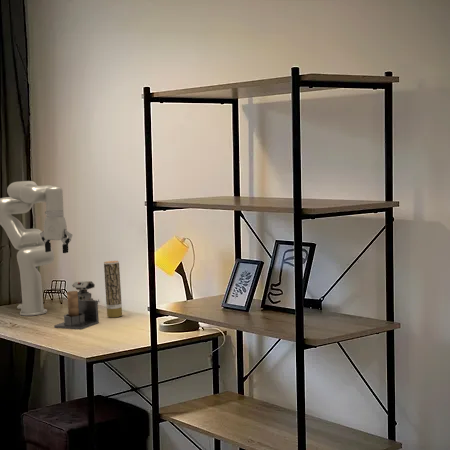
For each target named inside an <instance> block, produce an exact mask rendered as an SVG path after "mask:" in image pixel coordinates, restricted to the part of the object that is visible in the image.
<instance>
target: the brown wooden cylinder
mask: <svg viewBox="0 0 450 450" xmlns="http://www.w3.org/2000/svg"><path fill="white" fill-rule="evenodd" d="M77 292H78V290H71V291H70V290H69V291H67V292H66V297H67V311H68V313H67V314H69V316H79V308H78V293H77Z"/></svg>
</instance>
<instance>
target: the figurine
mask: <svg viewBox="0 0 450 450" xmlns="http://www.w3.org/2000/svg"><path fill="white" fill-rule="evenodd" d="M71 286H72V288H75V289H76V291H77V293H78V300H94V298H93V297H92V293H91V292H89V291H88V290H91V289H94V288H95V283H94V282H93V281H91V280H90V281H89V280H88V281H87V280H86V281H85V280H84V281H83V280H81V281H74V282H73V283H72V284H71ZM97 303H98V304H99V303H100V299H99V298H98V300H97Z"/></svg>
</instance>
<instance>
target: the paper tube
mask: <svg viewBox="0 0 450 450" xmlns="http://www.w3.org/2000/svg"><path fill="white" fill-rule="evenodd" d="M103 269H104V270H103V271H104V286H105V287H104V288H105V289H104V290H105V301H106V302H105V304H106V316H107V317H108V318H114V319H115V318H120V317H122V315H123V304H122V290H121V289H122V287H121V275H120V274H121V273H120V271H121V270H120V261H119V260H108V261H104V262H103Z"/></svg>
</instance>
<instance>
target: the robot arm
mask: <svg viewBox="0 0 450 450" xmlns="http://www.w3.org/2000/svg"><path fill="white" fill-rule="evenodd" d="M6 189H7V191H6V192H7V195H8V196H6V197H0V226H1V227H2V229H3V230H4V232H5V233H6V236H7V237H8V238H9V239H8V240H9V241H10V243H11V244H12V246H13V248H14V249H15V250H18V251H17V252H16V259H17V260H16V262H17V264H18V268H19V274H20V287H21V291H20V292H21V303H18V305H17V306H16V309H18V310H20V311H19V315H20V316H23V317H24V316H25V317H29V316H30V317H31V316H40V315H44V314H46V313H48V309H46V308H44V299H43V297H44V295H43V281H42V275H41V273H40V271H39V270H38V268H37V267H41V266H48V265H50V264H52V263H53V262H54V260H55V253H54V250H53V248H52V245H51V241H61V242H62V246H61V247H62V253H63V254H67V253H69V244H70V242H71V241H72V238H73V234H72V233H71V232H70V231H68V228H67V221H66V220H67V219H66V217H65V215H64V193H63V191H64V190H63V188H62V187H61V186H54V185H51V184H50V185H47V184H46V185H38V184H37V183H36V182H35V181H32V180H23V181H21V180H20V181H13V182H11V183H10V184H9V185H8V186H7V188H6ZM39 203H40V204H41V203H45V211H44V215H46V216H45V217H44V222H43V231H42V230H41V229H39V228H25V227H24V225H23V223H22V222H21V221H20V220H19V219H18V218H17V217H15V216H14V215H20V214H26V213H29V212H30V210H31V209H32V207H33V206H34V204H39Z"/></svg>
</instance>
